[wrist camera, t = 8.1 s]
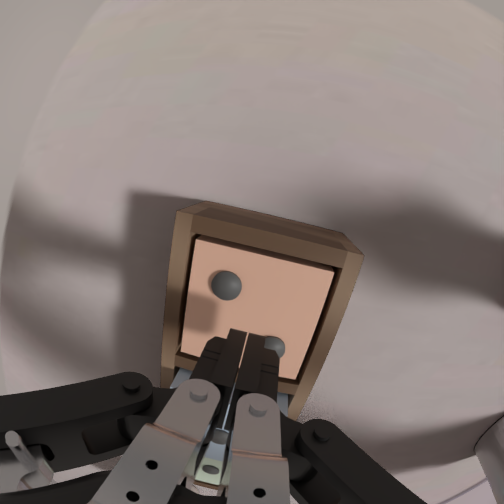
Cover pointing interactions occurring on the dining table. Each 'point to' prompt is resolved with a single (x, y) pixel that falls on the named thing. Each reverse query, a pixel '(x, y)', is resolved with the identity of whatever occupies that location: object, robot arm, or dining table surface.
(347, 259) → the dice tray set
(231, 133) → the dining table surface
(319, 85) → the dining table surface
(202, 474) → the button one
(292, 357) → the button two
